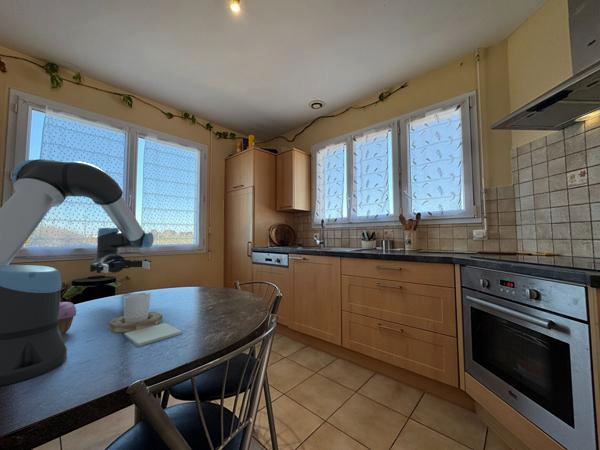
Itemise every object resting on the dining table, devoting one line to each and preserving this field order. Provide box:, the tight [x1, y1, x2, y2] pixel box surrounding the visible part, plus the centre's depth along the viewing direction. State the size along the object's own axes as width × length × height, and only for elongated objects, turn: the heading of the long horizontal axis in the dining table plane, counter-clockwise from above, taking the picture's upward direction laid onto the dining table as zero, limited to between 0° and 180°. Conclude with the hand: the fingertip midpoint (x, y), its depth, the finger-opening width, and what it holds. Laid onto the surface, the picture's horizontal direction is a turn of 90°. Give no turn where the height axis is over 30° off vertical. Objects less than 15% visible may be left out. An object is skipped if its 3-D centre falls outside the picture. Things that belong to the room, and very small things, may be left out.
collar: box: [107, 311, 163, 333], centre depth 87 cm, size 15×15×2 cm
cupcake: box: [59, 301, 77, 335], centre depth 77 cm, size 9×9×10 cm
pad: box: [123, 322, 182, 348], centre depth 77 cm, size 12×12×1 cm
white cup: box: [123, 292, 151, 323], centre depth 87 cm, size 8×8×10 cm
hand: (129, 267), depth 94 cm, fingers open, 13 cm apart
